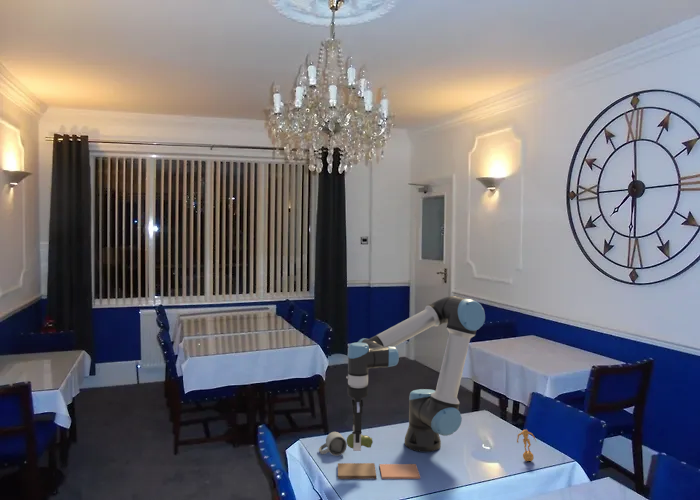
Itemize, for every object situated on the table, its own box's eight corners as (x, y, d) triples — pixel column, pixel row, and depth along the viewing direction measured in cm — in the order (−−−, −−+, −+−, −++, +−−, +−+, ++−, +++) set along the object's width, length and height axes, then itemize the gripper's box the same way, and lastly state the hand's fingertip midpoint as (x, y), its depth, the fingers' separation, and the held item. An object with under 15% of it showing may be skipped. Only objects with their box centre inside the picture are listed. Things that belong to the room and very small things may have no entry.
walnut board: (374, 466, 199) (374, 463, 199) (376, 478, 189) (376, 475, 189) (337, 466, 199) (337, 463, 199) (337, 478, 189) (338, 475, 189)
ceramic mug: (342, 446, 217) (341, 428, 216) (347, 454, 209) (346, 436, 208) (317, 449, 214) (316, 431, 214) (321, 458, 206) (320, 439, 206)
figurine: (520, 464, 202) (521, 434, 202) (513, 457, 208) (514, 428, 208) (540, 462, 204) (541, 432, 203) (532, 456, 210) (533, 426, 209)
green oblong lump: (345, 430, 195) (370, 432, 198) (343, 444, 194) (367, 445, 198) (351, 436, 189) (375, 437, 193) (348, 450, 189) (373, 451, 193)
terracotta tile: (415, 466, 200) (415, 464, 199) (420, 478, 190) (420, 476, 190) (379, 466, 199) (379, 464, 199) (381, 478, 189) (381, 476, 189)
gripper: (347, 377, 202) (346, 436, 203) (348, 393, 183) (347, 457, 184) (366, 377, 202) (365, 436, 203) (369, 393, 183) (368, 457, 184)
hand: (356, 446), depth 193 cm, fingers closed on green oblong lump, 6 cm apart
